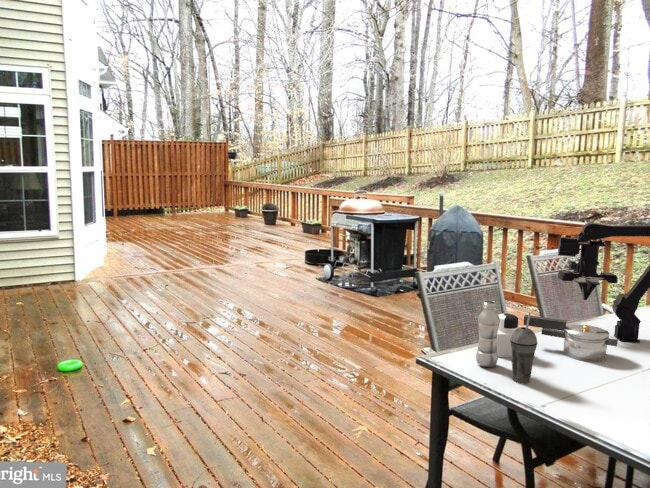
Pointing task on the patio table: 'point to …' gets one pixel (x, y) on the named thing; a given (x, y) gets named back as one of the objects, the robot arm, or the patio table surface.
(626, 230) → the robot arm
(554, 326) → the cooker lid
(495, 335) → the plastic bottle
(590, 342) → the cooker pot
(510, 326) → the container
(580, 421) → the patio table surface
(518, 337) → the beverage cup
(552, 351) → the patio table surface
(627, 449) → the patio table surface
